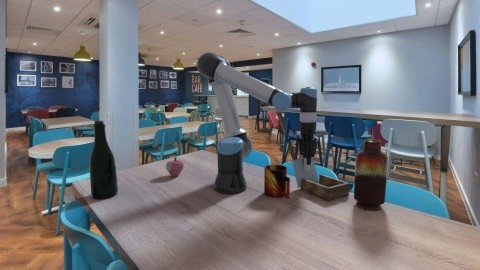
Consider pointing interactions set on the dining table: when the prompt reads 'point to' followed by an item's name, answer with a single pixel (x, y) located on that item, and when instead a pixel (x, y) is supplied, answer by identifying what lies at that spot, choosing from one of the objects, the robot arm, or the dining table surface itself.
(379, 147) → the vase
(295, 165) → the pale blue square panel
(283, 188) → the mug
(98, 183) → the beer bottle
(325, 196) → the crate
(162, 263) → the dining table surface
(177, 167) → the apple
